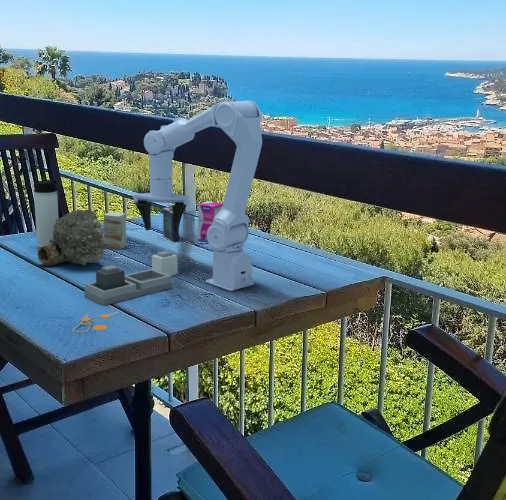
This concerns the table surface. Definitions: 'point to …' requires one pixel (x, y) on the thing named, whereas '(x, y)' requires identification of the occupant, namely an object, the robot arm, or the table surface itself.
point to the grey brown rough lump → (75, 240)
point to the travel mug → (45, 210)
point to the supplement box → (206, 217)
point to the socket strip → (130, 287)
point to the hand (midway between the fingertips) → (162, 230)
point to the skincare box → (115, 230)
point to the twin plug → (110, 278)
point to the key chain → (87, 321)
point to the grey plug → (165, 263)
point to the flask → (169, 225)
